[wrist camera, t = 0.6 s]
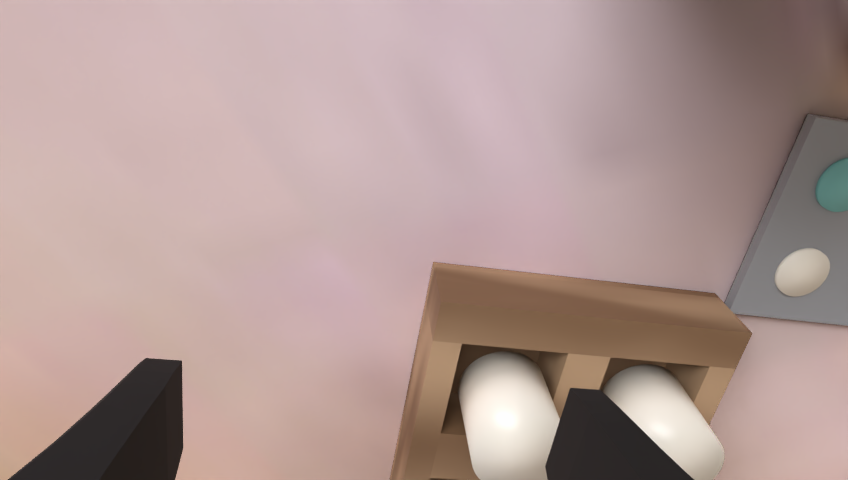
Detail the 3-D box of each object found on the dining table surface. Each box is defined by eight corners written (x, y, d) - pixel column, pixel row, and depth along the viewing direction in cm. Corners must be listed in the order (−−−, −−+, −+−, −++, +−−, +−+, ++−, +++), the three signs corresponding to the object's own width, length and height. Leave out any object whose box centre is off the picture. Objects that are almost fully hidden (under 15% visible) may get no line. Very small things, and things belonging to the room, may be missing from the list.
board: (613, 531, 27) (634, 583, 25) (381, 519, 26) (383, 573, 24) (714, 293, 22) (752, 333, 20) (433, 261, 21) (441, 301, 19)
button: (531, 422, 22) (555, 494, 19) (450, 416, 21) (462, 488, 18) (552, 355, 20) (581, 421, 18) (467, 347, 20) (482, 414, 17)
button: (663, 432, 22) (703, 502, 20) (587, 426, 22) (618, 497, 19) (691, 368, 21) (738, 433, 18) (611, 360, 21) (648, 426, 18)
